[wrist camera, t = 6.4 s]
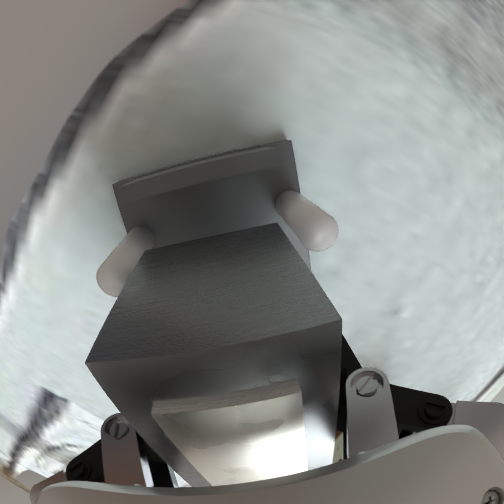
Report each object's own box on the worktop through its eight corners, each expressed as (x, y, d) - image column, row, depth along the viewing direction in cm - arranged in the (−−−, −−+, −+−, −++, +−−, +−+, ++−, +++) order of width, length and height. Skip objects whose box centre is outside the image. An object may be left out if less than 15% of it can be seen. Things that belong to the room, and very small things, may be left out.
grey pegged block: (289, 140, 15) (327, 140, 10) (316, 336, 20) (342, 392, 15) (115, 182, 15) (68, 206, 9) (185, 364, 20) (180, 425, 15)
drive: (277, 222, 10) (346, 325, 5) (298, 385, 14) (330, 484, 8) (144, 250, 10) (81, 369, 4) (206, 402, 14) (209, 504, 8)
